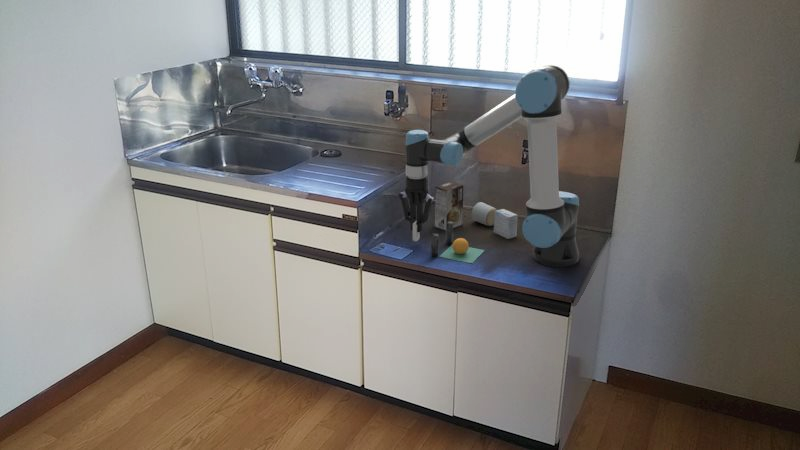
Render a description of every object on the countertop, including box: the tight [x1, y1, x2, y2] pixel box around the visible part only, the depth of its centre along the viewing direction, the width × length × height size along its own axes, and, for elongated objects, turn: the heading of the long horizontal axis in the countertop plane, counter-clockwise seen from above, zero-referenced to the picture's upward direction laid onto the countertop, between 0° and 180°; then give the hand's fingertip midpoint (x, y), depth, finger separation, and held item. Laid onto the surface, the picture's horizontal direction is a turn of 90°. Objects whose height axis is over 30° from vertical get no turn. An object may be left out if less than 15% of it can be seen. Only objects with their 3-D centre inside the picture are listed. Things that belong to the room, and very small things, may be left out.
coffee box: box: [434, 180, 464, 231], centre depth 255 cm, size 9×6×16 cm
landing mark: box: [438, 244, 486, 264], centre depth 233 cm, size 12×12×1 cm
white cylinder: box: [471, 201, 498, 227], centre depth 259 cm, size 11×8×8 cm
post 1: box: [430, 232, 440, 259], centre depth 230 cm, size 3×3×8 cm
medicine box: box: [493, 208, 519, 240], centre depth 248 cm, size 8×4×9 cm, turn 34°
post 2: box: [445, 221, 454, 246], centre depth 240 cm, size 3×3×8 cm
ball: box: [453, 237, 470, 254], centre depth 233 cm, size 6×6×6 cm
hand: (416, 239), depth 240 cm, fingers closed
